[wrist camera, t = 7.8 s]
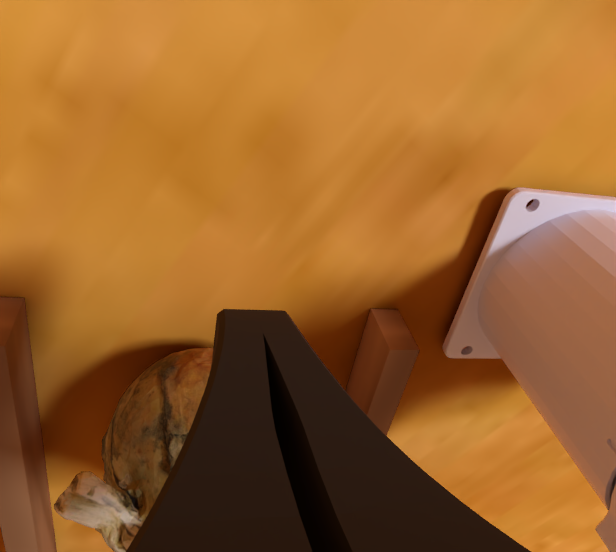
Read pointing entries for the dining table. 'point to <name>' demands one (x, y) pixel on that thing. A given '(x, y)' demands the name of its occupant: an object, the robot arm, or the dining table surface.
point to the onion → (139, 448)
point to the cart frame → (27, 430)
